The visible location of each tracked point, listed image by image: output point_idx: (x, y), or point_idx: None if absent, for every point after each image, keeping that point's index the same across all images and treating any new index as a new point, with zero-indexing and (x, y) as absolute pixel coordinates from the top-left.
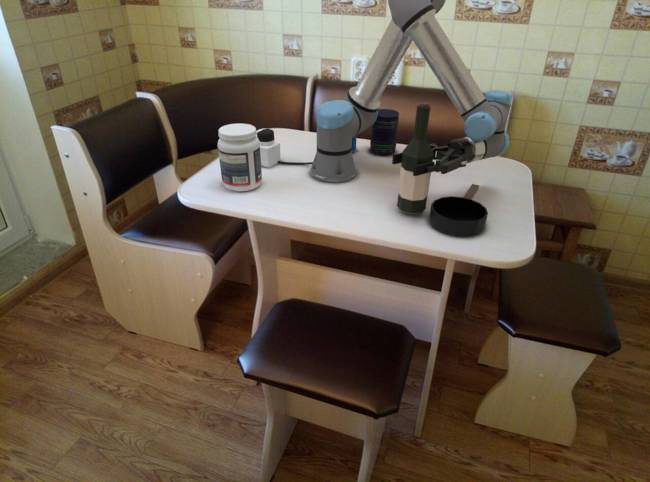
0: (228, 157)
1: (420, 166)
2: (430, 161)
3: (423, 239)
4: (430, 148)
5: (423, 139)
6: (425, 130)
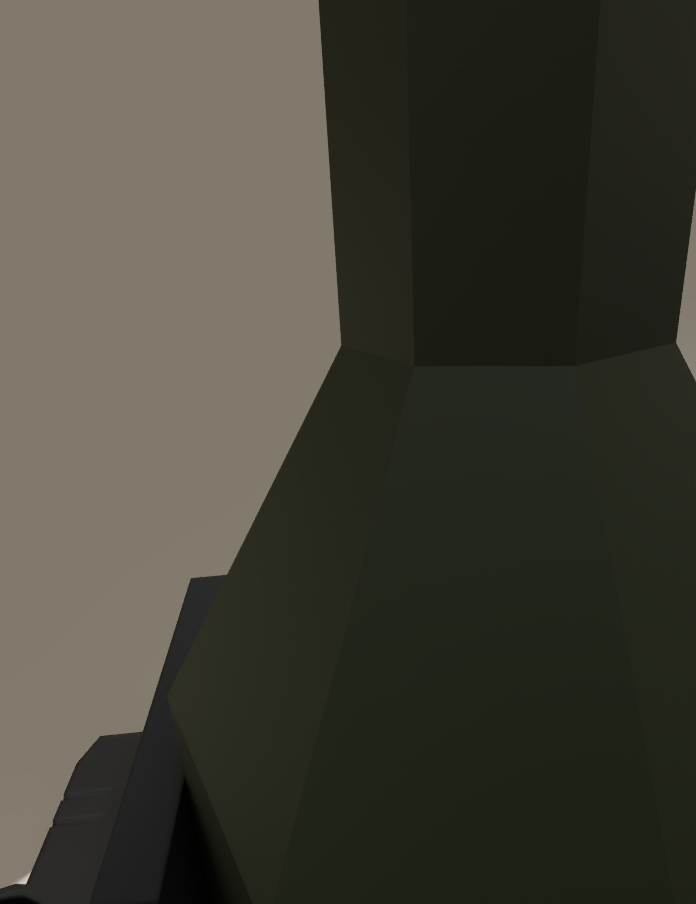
0: None
1: (176, 636)
2: (224, 891)
3: None
4: (306, 688)
5: (346, 332)
6: (326, 68)
